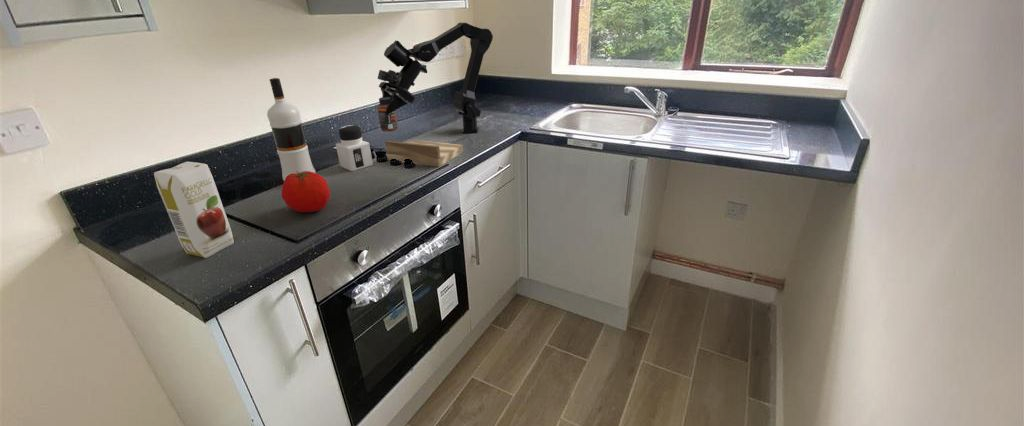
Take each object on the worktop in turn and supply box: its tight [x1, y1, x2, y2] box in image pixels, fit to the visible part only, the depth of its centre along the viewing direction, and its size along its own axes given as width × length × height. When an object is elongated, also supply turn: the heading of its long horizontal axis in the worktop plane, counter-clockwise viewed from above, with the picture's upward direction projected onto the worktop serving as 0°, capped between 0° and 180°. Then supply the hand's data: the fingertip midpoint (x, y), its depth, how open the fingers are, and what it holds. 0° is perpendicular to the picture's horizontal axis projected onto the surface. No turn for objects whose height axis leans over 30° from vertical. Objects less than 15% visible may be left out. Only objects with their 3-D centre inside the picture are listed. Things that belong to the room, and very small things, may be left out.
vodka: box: [266, 77, 317, 182], centre depth 128 cm, size 9×9×30 cm
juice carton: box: [153, 161, 235, 259], centre depth 94 cm, size 8×9×19 cm
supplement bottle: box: [377, 96, 399, 133], centre depth 156 cm, size 6×6×11 cm
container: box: [335, 124, 374, 172], centre depth 142 cm, size 8×8×13 cm
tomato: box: [280, 171, 331, 213], centre depth 113 cm, size 11×13×10 cm
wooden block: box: [384, 139, 464, 168], centre depth 150 cm, size 16×20×6 cm
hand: (383, 112), depth 155 cm, fingers closed on supplement bottle, 6 cm apart
